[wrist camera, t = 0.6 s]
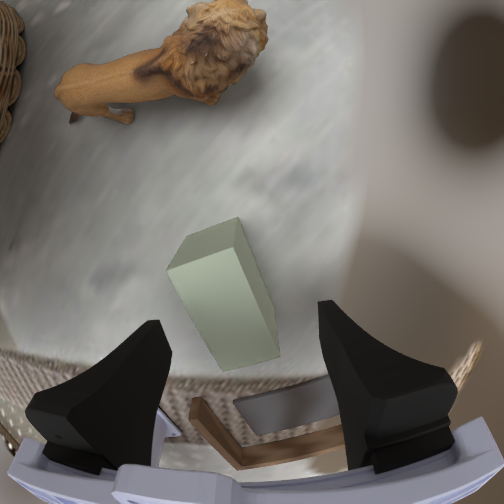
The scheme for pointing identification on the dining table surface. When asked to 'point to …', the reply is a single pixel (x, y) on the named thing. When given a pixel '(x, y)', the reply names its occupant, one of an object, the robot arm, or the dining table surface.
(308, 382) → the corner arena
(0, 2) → the wicker basket
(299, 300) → the dining table surface
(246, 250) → the sage block
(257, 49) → the lion figurine
